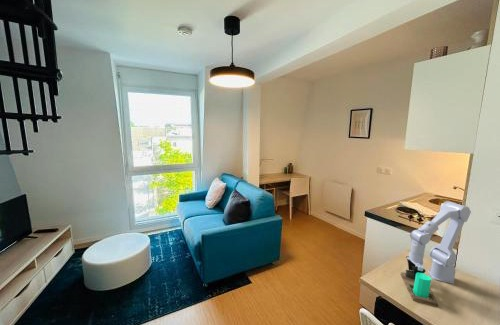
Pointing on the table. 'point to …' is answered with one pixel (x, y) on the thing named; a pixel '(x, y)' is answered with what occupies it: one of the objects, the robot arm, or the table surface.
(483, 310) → the table surface
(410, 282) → the brown compartment tray
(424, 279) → the candle
